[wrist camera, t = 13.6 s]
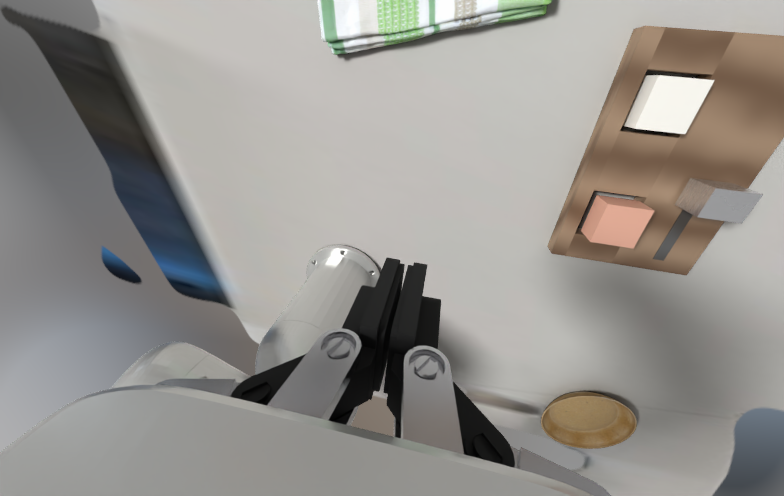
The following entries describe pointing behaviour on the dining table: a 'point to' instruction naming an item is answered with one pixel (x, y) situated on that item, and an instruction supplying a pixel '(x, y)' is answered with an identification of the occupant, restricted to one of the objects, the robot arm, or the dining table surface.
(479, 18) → the dish towel
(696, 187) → the slider knob
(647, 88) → the cream button
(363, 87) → the dining table surface
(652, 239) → the switch board
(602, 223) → the terracotta button
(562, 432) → the plant saucer
